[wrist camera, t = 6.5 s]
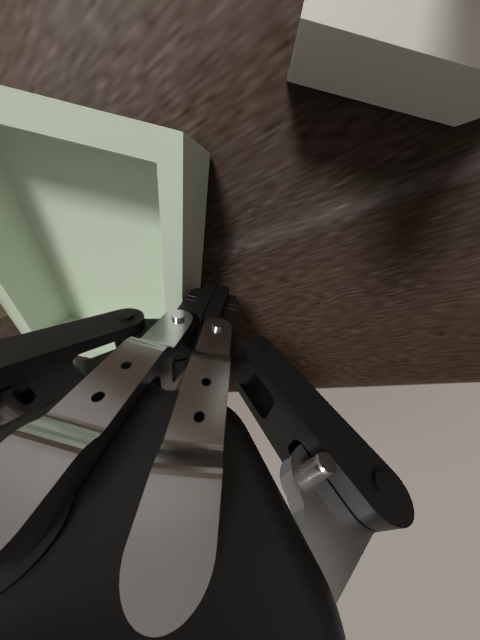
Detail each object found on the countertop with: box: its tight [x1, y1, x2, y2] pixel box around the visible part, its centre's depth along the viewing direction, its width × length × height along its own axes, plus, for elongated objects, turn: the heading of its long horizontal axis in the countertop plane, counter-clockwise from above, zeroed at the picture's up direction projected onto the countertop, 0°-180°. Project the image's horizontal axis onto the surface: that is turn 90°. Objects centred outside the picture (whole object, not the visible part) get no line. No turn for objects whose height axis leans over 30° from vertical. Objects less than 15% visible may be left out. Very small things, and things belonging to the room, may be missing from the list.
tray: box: [0, 85, 210, 377], centre depth 12 cm, size 12×14×4 cm
